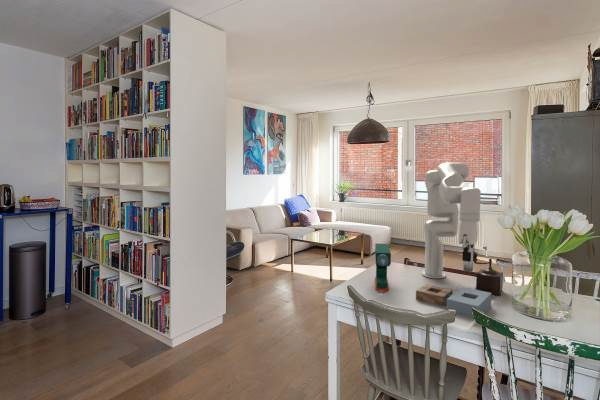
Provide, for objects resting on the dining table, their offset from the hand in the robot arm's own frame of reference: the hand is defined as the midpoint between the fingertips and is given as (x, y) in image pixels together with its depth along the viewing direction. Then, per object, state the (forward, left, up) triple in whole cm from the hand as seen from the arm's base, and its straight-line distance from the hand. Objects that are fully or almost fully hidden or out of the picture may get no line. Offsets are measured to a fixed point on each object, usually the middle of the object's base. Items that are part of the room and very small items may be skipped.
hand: (468, 259), depth 146 cm
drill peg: (0, 0, -5) cm, 5 cm away
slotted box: (0, +1, -22) cm, 22 cm away
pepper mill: (-30, -1, -22) cm, 37 cm away
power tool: (+1, -40, -22) cm, 45 cm away
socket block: (0, -14, -22) cm, 26 cm away
